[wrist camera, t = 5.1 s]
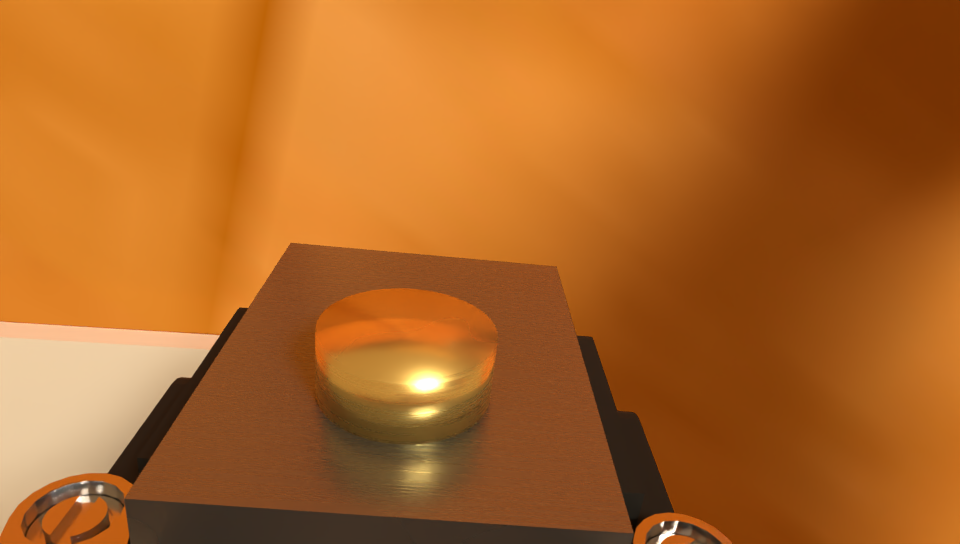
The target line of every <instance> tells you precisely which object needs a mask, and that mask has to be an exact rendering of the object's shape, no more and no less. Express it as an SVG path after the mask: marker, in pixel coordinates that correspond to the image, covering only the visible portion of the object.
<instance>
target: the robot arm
mask: <svg viewBox="0 0 960 544" xmlns="http://www.w3.org/2000/svg"><path fill="white" fill-rule="evenodd" d="M247 309H248V308H239V309H238V310H237V311H236V313H235V314H234V316H233V317H232V319H231V320H230V322H229V323H228V324H227V326H226V327H225V329H224V330H223V332H222V333H221V335H220V336H219V338H218V339H217V341H216V342H215V344H214V345H213V346H212V348H211V349H210V351H209V352H208V354H207V355H206V357H205V358H204V360H203V361H202V363H201V364H200V366H199V367H198V369H197V370H196V371H195V373H194V374H193V376H192V377H191V378H187V377H180V378H177V379H176V380H175V381H174V382H173V383H172V384H171V385H170V387H169V388H168V390H167V391H166V392H165V394H164V395H163V397H162V398H161V399H160V401H159V402H158V403H157V405H156V406H155V408H154V409H153V410H152V412H151V413H150V415H149V416H148V417H147V419H146V420H145V422H144V423H143V424H142V426H141V427H140V429H139V430H138V431H137V433H136V434H135V436H134V437H133V438H132V440H131V441H130V442H129V444H128V445H127V447H126V448H125V449H124V451H123V452H122V454H121V455H120V456H119V458H118V459H117V461H116V462H115V463H114V465H113V466H112V468H111V469H110V470H109V472H108V473H86V474H81V475H75V476H69V477H67V478H64V479H61V480H58V481H55V482H52V483H50V484H48V485H46V486H44V487H42V488H41V489H39V490H37V491H35V492H33V493H32V494H31V495H30V496H28V497H27V498H26V499H25V500H23V501H22V502H21V503H20V504H19V505H18V506H17V507H16V509H15V510H14V512H13V513H12V514H11V516H10V517H9V519H8V521H7V523H6V525H5V527H4V529H3V531H2V533H1V535H0V544H130V537H129V530H128V523H127V516H126V509H125V502H124V498H125V496H126V495H127V493H128V492H129V490H130V489H131V487H132V486H133V484H134V483H135V481H136V480H137V478H138V477H139V475H140V473H141V472H142V470H143V469H144V467H145V466H146V464H147V463H148V461H149V460H150V458H151V457H152V455H153V454H154V452H155V450H156V449H157V447H158V446H159V444H160V443H161V441H162V440H163V438H164V437H165V435H166V434H167V432H168V431H169V429H170V427H171V426H172V424H173V423H174V421H175V420H176V418H177V417H178V415H179V414H180V412H181V411H182V409H183V408H184V406H185V404H186V403H187V401H188V400H189V398H190V397H191V395H192V394H193V392H194V391H195V389H196V388H197V386H198V385H199V383H200V381H201V380H202V378H203V377H204V375H205V374H206V372H207V371H208V369H209V368H210V366H211V365H212V363H213V362H214V360H215V358H216V357H217V355H218V354H219V352H220V351H221V349H222V348H223V346H224V345H225V343H226V342H227V340H228V339H229V337H230V335H231V334H232V332H233V331H234V329H235V328H236V326H237V325H238V323H239V322H240V320H241V319H242V317H243V316H244V314H245V312H246V311H247ZM577 339H578V343H579V346H580V350H581V353H582V357H583V360H584V364H585V367H586V370H587V374H588V377H589V381H590V384H591V388H592V391H593V395H594V398H595V401H596V405H597V408H598V412H599V415H600V419H601V422H602V426H603V429H604V433H605V436H606V439H607V443H608V446H609V450H610V453H611V457H612V460H613V464H614V467H615V471H616V474H617V477H618V481H619V484H620V488H621V491H622V495H623V498H624V502H625V505H626V508H627V512H628V515H629V519H630V522H631V526H632V529H633V533H634V534H633V538H632V542H631V544H733V543H732V542H731V541H730V539H728V538H727V537H726V536H725V535H724V534H722V533H721V532H720V531H719V530H718V529H717V528H715V527H713V526H711V525H709V524H708V523H706V522H704V521H702V520H700V519H697V518H694V517H691V516H688V515H685V514H678V513H674V511H673V508H672V505H671V503H670V500H669V497H668V495H667V492H666V489H665V487H664V484H663V481H662V479H661V476H660V473H659V471H658V468H657V465H656V463H655V460H654V457H653V455H652V452H651V450H650V447H649V444H648V442H647V439H646V436H645V434H644V431H643V428H642V426H641V423H640V420H639V418H638V416H637V415H636V414H635V413H633V412H624V411H617V409H616V406H615V403H614V400H613V397H612V394H611V391H610V388H609V385H608V382H607V379H606V376H605V373H604V370H603V367H602V364H601V361H600V358H599V355H598V352H597V349H596V346H595V343H594V340H593V338H592V337H587V336H577Z"/></svg>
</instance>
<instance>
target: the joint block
mask: <svg viewBox="0 0 960 544" xmlns="http://www.w3.org/2000/svg"><path fill="white" fill-rule="evenodd" d="M124 502H125V509H126V516H127V523H128V530H129V537H130V544H631V542H632V538H633V534H634V533H633V529H632V526H631V522H630V519H629V515H628V512H627V508H626V505H625V502H624V498H623V495H622V491H621V488H620V484H619V481H618V477H617V474H616V471H615V467H614V464H613V460H612V457H611V453H610V450H609V446H608V443H607V439H606V436H605V433H604V429H603V426H602V422H601V419H600V415H599V412H598V408H597V405H596V401H595V398H594V395H593V391H592V388H591V384H590V381H589V377H588V374H587V370H586V367H585V364H584V360H583V357H582V353H581V350H580V346H579V343H578V339H577V336H576V332H575V329H574V326H573V322H572V319H571V315H570V312H569V308H568V305H567V301H566V298H565V294H564V291H563V288H562V284H561V281H560V277H559V274H558V270H557V267H554V266H543V265H532V264H521V263H510V262H498V261H487V260H476V259H465V258H454V257H443V256H431V255H420V254H409V253H398V252H387V251H375V250H364V249H353V248H342V247H331V246H320V245H308V244H297V243H290V245H289V247H288V248H287V250H286V251H285V253H284V254H283V256H282V257H281V259H280V260H279V262H278V263H277V265H276V266H275V268H274V270H273V271H272V273H271V274H270V276H269V277H268V279H267V280H266V282H265V283H264V285H263V286H262V288H261V289H260V291H259V293H258V294H257V296H256V297H255V299H254V300H253V302H252V303H251V305H250V306H249V308H248V309H247V311H246V312H245V314H244V316H243V317H242V319H241V320H240V322H239V323H238V325H237V326H236V328H235V329H234V331H233V332H232V334H231V335H230V337H229V339H228V340H227V342H226V343H225V345H224V346H223V348H222V349H221V351H220V352H219V354H218V355H217V357H216V358H215V360H214V362H213V363H212V365H211V366H210V368H209V369H208V371H207V372H206V374H205V375H204V377H203V378H202V380H201V381H200V383H199V385H198V386H197V388H196V389H195V391H194V392H193V394H192V395H191V397H190V398H189V400H188V401H187V403H186V404H185V406H184V408H183V409H182V411H181V412H180V414H179V415H178V417H177V418H176V420H175V421H174V423H173V424H172V426H171V427H170V429H169V431H168V432H167V434H166V435H165V437H164V438H163V440H162V441H161V443H160V444H159V446H158V447H157V449H156V450H155V452H154V454H153V455H152V457H151V458H150V460H149V461H148V463H147V464H146V466H145V467H144V469H143V470H142V472H141V473H140V475H139V477H138V478H137V480H136V481H135V483H134V484H133V486H132V487H131V489H130V490H129V492H128V493H127V495H126V496H125V498H124Z"/></svg>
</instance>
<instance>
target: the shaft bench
mask: <svg viewBox="0 0 960 544" xmlns="http://www.w3.org/2000/svg"><path fill="white" fill-rule="evenodd" d="M219 336H220V335H208V334H192V333H175V332H159V331H143V330H127V329H110V328H94V327H78V326H62V325H46V324H29V323H13V322H0V535H1V533H2V531H3V529H4V527H5V525H6V523H7V521H8V519H9V517H10V516H11V514H12V513H13V512H14V510H15V509H16V507H17V506H18V505H19V504H20V503H21V502H22V501H23V500H25V499H26V498H27V497H28V496H30V495H31V494H32V493H33V492H35V491H37V490H39V489H41V488H42V487H44V486H46V485H48V484H50V483H52V482H55V481H58V480H61V479H64V478H67V477H69V476H75V475H81V474H86V473H108V472H109V470H110V469H111V468H112V466H113V465H114V463H115V462H116V461H117V459H118V458H119V456H120V455H121V454H122V452H123V451H124V449H125V448H126V447H127V445H128V444H129V442H130V441H131V440H132V438H133V437H134V436H135V434H136V433H137V431H138V430H139V429H140V427H141V426H142V424H143V423H144V422H145V420H146V419H147V417H148V416H149V415H150V413H151V412H152V410H153V409H154V408H155V406H156V405H157V403H158V402H159V401H160V399H161V398H162V397H163V395H164V394H165V392H166V391H167V390H168V388H169V387H170V385H171V384H172V383H173V382H174V381H175V380H176V379H177V378H180V377H187V378H191V377H192V376H193V374H194V373H195V371H196V370H197V369H198V367H199V366H200V364H201V363H202V361H203V360H204V358H205V357H206V355H207V354H208V352H209V351H210V349H211V348H212V346H213V345H214V344H215V342H216V341H217V339H218V338H219Z"/></svg>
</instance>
